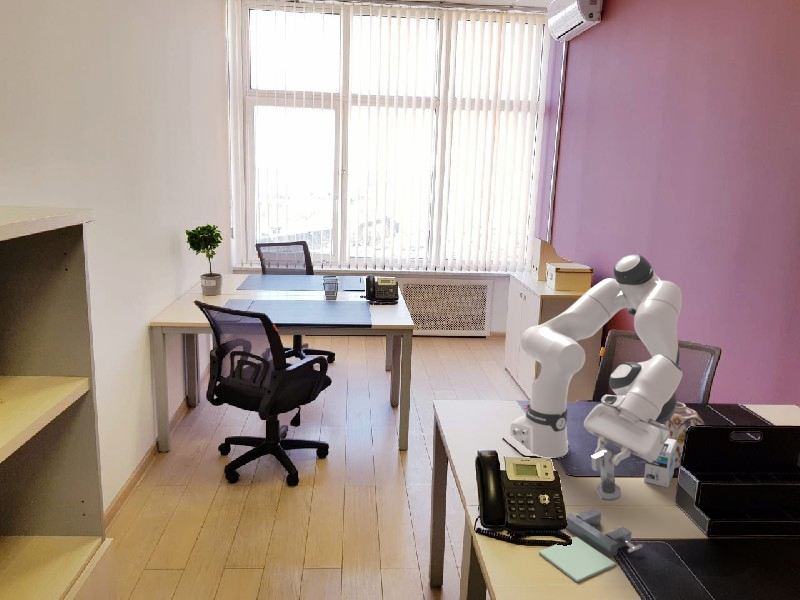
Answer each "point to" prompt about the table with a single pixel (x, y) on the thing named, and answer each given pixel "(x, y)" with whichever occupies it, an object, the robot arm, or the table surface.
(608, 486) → the grey tall rounded piece
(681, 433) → the decorative jar
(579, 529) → the vise
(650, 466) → the light bulb box
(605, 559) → the mat
